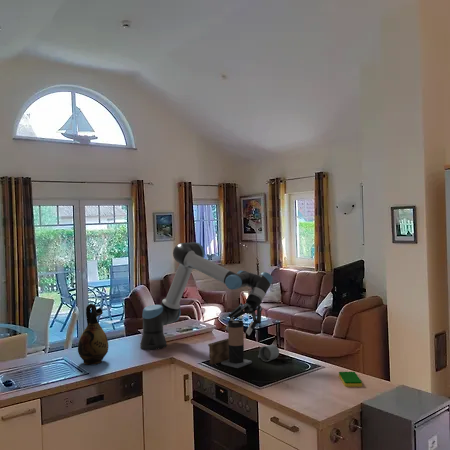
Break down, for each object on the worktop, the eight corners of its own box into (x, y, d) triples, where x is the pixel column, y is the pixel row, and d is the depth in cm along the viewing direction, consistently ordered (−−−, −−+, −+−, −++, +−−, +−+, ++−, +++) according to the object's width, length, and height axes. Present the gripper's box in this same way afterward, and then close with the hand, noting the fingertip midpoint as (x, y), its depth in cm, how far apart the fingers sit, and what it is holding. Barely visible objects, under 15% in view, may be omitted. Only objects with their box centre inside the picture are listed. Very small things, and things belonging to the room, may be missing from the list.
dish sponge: (354, 376, 202) (354, 371, 202) (362, 387, 188) (362, 381, 188) (338, 376, 202) (338, 371, 202) (345, 387, 189) (344, 381, 189)
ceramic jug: (114, 361, 234) (113, 303, 234) (87, 368, 223) (86, 308, 223) (97, 355, 246) (96, 300, 246) (70, 362, 234) (69, 304, 235)
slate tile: (221, 364, 225) (220, 362, 225) (235, 359, 233) (235, 357, 233) (237, 368, 217) (237, 366, 217) (251, 362, 225) (251, 360, 225)
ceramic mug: (280, 359, 231) (279, 344, 231) (271, 363, 225) (270, 347, 225) (263, 356, 238) (263, 341, 238) (254, 359, 232) (253, 344, 232)
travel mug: (239, 364, 220) (238, 323, 220) (226, 362, 224) (225, 322, 224) (246, 360, 226) (246, 320, 227) (233, 358, 231) (233, 319, 231)
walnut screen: (212, 365, 224) (212, 344, 224) (208, 364, 225) (208, 344, 225) (237, 356, 237) (236, 337, 237) (233, 355, 239) (233, 336, 239)
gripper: (277, 304, 230) (260, 339, 219) (241, 300, 247) (222, 332, 236) (271, 295, 226) (253, 330, 215) (234, 291, 243) (215, 324, 232)
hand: (237, 331), depth 226 cm, fingers open, 13 cm apart
